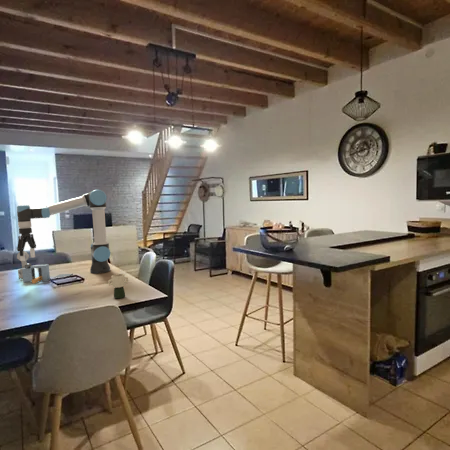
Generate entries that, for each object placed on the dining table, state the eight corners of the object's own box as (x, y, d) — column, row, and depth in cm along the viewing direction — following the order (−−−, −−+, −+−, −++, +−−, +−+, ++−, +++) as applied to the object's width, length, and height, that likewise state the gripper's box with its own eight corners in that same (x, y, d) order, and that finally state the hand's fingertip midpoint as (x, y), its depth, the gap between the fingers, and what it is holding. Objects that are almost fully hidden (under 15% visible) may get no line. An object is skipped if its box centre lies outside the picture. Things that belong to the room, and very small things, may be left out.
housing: (50, 279, 238) (48, 262, 237) (47, 281, 234) (45, 263, 233) (26, 281, 237) (24, 263, 236) (23, 282, 233) (21, 264, 232)
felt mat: (72, 274, 254) (72, 273, 254) (64, 278, 239) (64, 278, 239) (59, 274, 253) (59, 274, 253) (50, 279, 239) (50, 279, 238)
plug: (37, 283, 229) (36, 270, 228) (30, 283, 229) (29, 271, 228) (49, 277, 246) (48, 265, 245) (42, 277, 246) (41, 266, 245)
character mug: (127, 294, 189) (126, 272, 188) (130, 297, 183) (129, 274, 182) (108, 298, 183) (106, 275, 182) (111, 301, 177) (109, 277, 176)
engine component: (27, 278, 246) (36, 275, 256) (25, 251, 245) (34, 249, 255) (14, 278, 248) (23, 275, 257) (11, 252, 246) (21, 250, 256)
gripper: (29, 226, 234) (32, 256, 235) (8, 229, 210) (11, 262, 211) (39, 226, 234) (42, 255, 235) (20, 228, 210) (23, 261, 212)
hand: (28, 259), depth 223 cm, fingers open, 11 cm apart
